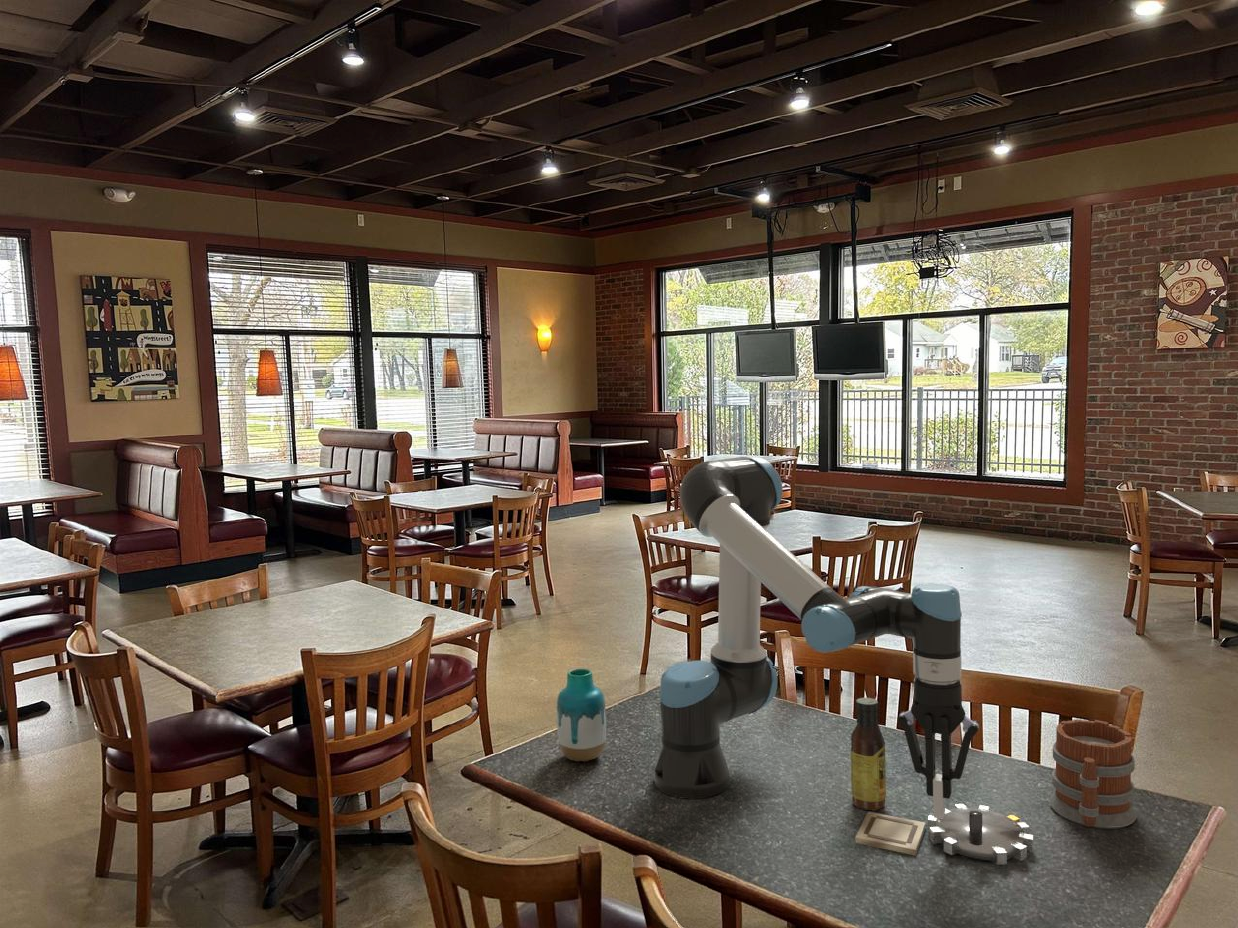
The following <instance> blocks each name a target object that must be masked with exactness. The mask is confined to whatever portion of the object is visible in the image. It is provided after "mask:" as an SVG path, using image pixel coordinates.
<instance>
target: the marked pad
mask: <svg viewBox="0 0 1238 928" xmlns="http://www.w3.org/2000/svg"><path fill="white" fill-rule="evenodd" d="M925 831H926V822H925V821H919V820H913V819H908V818H903V817H899V816H893V815H887V814H883V813H878V812H873V811H867V813H866V816H865V817H864V819H863V821H862V823H861V825H860V826H859V829H858V831H857V834H856V835H855V841H854V842H855V843H856V844H860V845H865V846H868V847H869V846H870V847H874V848H878V849H884V850H889V851H893V852H899V853H900V854H901V853H902V854H907V855H913V856H917V853H918V850H919V847H920V844H921V842H922V838H923V836H924V833H925Z"/></svg>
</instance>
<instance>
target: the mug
mask: <svg viewBox="0 0 1238 928" xmlns="http://www.w3.org/2000/svg"><path fill="white" fill-rule="evenodd" d="M1055 728H1056V730H1055V732H1056V733H1055V737H1056V739H1055V741H1054V743H1053V744H1052V759H1054V760H1053V761H1055V768H1054V769H1053V771H1052V773H1051V774H1052V780H1051V781H1052V785H1053V787H1054V791H1053V793H1052V794H1051V796H1050V797H1049V802H1048V803H1049V805H1050V807H1051V809H1053V810H1054V811H1055V812H1056V813H1057V814H1058V815H1059V816H1061V817H1062V818H1063V819H1066V820H1068V821H1069V822H1072V823H1074V824H1077V825H1081V826H1084V827H1089V828H1095V829H1104V830H1105V829H1106V830H1115V829H1122V828H1125V827H1128V826H1130V825H1132V824H1133V823H1134V822H1136V819H1137V816H1138V815H1137V813H1136V811H1135V809H1134V807H1133V806H1132V803H1131V801H1133V799H1134V797H1135V785H1134V782H1133V781H1132V773H1133V772H1134V771H1135V768H1136V767H1135V764H1136V762H1135V761H1136V758H1135V755H1134V754H1133V752H1132V734H1131V733H1130V732H1128V731H1126V730H1124V729H1123V728H1121V727H1120V726H1117V725H1112V724H1110V722H1107V721H1104V720H1103V721H1102V720H1097V719H1094V721H1093V720H1087V719H1086V720H1084V719H1083V720H1082V719H1073V720H1067V721H1066V720H1063V721H1060V722H1059V723H1058V724H1057V726H1056V727H1055Z"/></svg>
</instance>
